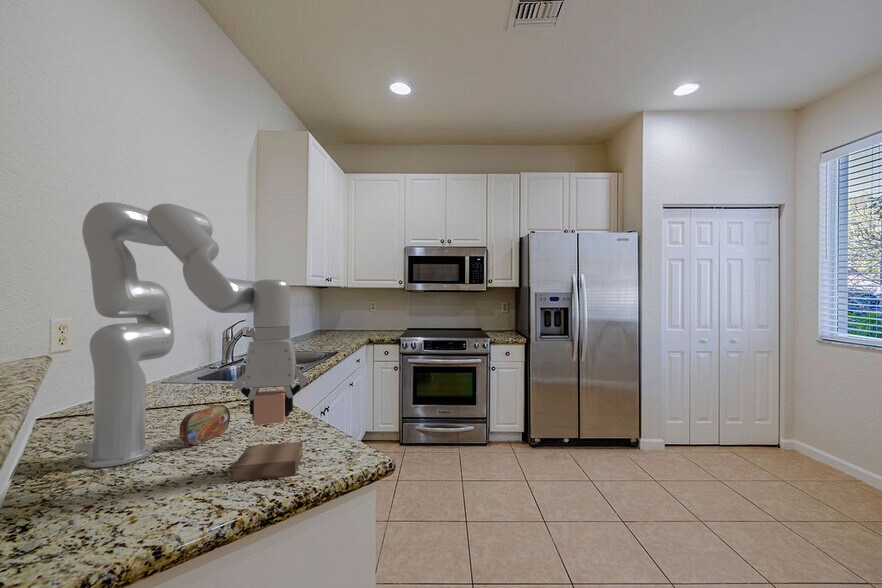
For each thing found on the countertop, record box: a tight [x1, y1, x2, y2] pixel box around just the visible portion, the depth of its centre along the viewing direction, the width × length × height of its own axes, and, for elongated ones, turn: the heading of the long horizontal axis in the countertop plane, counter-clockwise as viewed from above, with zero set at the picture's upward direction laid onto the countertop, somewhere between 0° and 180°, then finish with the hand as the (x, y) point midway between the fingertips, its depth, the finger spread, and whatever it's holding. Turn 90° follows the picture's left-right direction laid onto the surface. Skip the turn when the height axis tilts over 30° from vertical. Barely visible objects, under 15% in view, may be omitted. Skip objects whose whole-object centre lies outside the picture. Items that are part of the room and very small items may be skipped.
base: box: [232, 441, 304, 482], centre depth 86 cm, size 12×12×3 cm
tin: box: [179, 404, 231, 446], centre depth 105 cm, size 15×3×8 cm, turn 168°
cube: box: [253, 388, 288, 425], centre depth 87 cm, size 6×6×6 cm
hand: (271, 415), depth 87 cm, fingers closed on cube, 6 cm apart
